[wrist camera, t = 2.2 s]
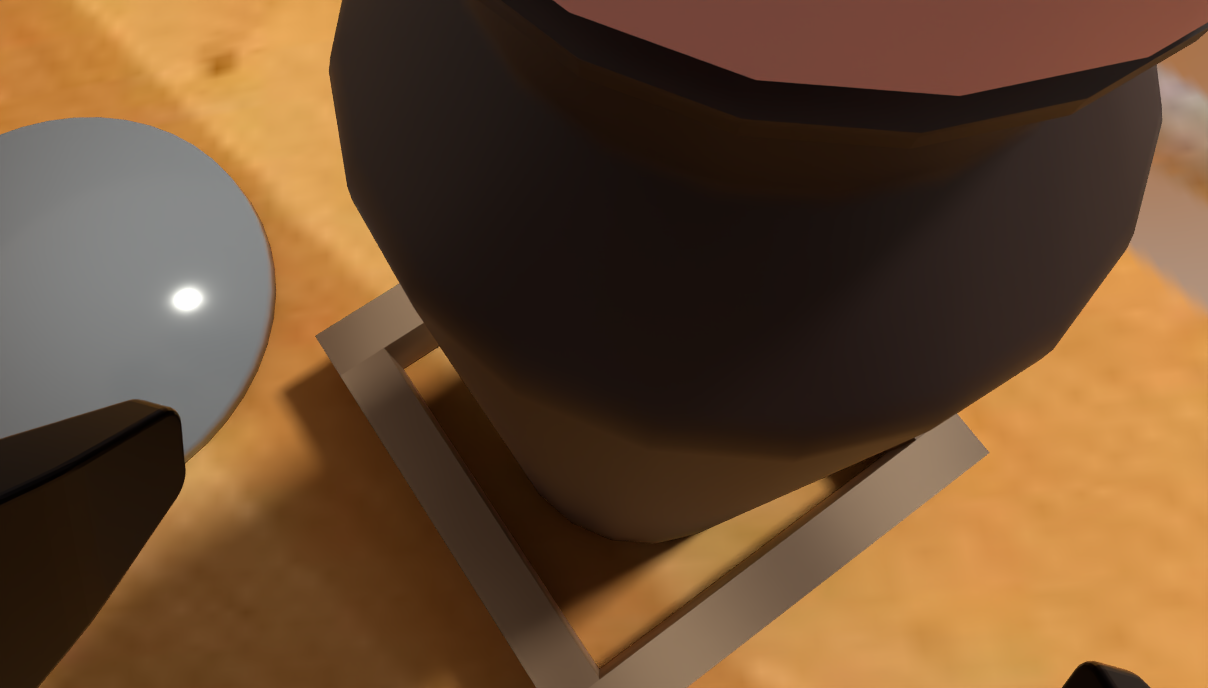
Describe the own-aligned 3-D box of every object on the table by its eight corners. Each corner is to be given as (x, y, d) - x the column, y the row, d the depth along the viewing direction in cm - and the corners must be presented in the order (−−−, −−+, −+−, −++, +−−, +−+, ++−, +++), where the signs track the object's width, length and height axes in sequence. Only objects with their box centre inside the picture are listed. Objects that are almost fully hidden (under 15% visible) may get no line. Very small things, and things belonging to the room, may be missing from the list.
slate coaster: (-48, 612, 19) (-68, 613, 19) (-207, 262, 22) (-229, 253, 21) (350, 359, 21) (344, 353, 21) (162, 64, 24) (151, 51, 23)
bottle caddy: (586, 746, 19) (585, 765, 17) (340, 357, 21) (314, 336, 19) (952, 464, 21) (989, 452, 19) (686, 139, 23) (694, 99, 21)
